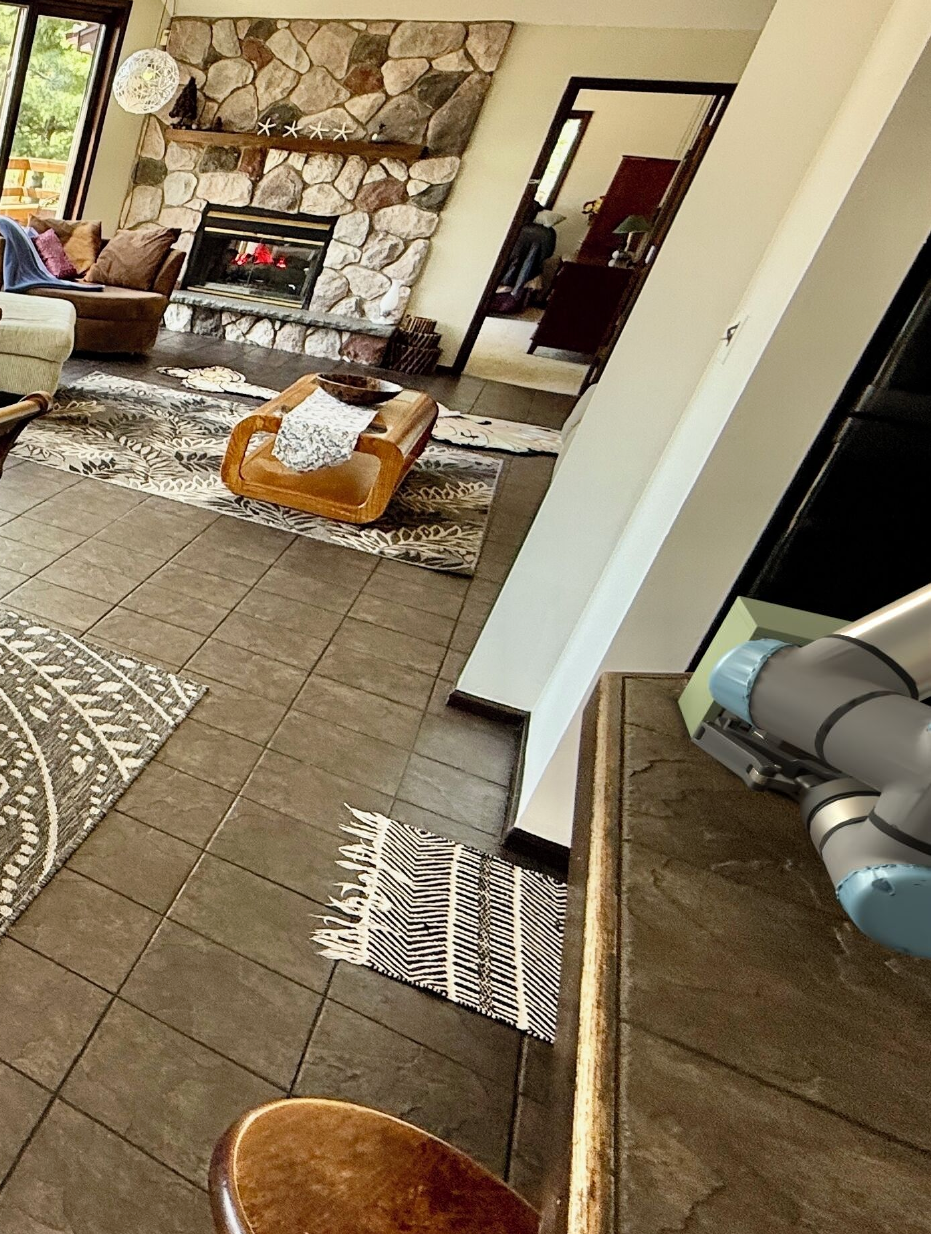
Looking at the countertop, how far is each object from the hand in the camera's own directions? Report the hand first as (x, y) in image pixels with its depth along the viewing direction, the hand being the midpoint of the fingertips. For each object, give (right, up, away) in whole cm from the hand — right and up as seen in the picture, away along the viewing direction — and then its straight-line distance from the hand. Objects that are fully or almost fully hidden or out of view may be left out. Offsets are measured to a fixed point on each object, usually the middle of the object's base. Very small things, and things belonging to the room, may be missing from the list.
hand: (817, 739), depth 103 cm
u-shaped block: (+9, -2, +14) cm, 17 cm away
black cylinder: (+2, -6, +5) cm, 8 cm away
